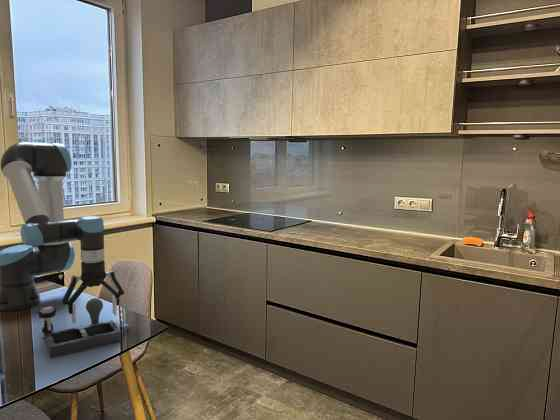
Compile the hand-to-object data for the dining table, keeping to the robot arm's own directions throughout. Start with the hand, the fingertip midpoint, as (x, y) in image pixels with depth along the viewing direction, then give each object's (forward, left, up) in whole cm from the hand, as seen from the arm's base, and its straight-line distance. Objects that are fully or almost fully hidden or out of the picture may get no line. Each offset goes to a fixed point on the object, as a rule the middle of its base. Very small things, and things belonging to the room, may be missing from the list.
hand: (94, 317), depth 145 cm
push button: (+1, -15, -3) cm, 15 cm away
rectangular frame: (+12, -6, -3) cm, 14 cm away
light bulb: (0, 0, -3) cm, 3 cm away
